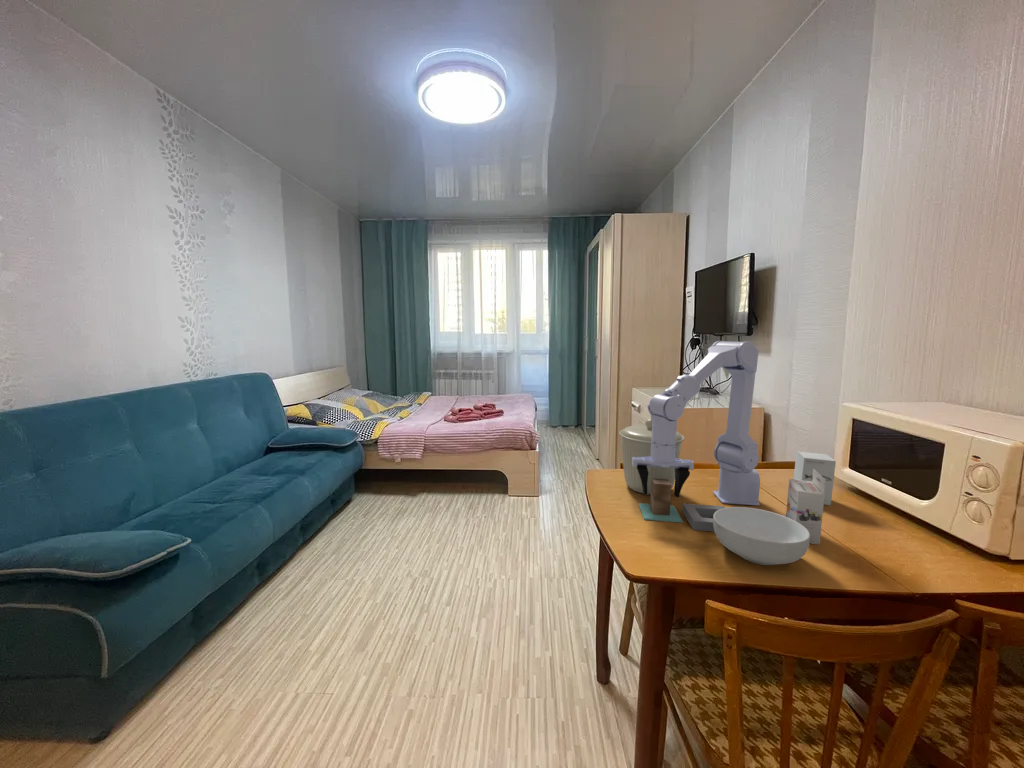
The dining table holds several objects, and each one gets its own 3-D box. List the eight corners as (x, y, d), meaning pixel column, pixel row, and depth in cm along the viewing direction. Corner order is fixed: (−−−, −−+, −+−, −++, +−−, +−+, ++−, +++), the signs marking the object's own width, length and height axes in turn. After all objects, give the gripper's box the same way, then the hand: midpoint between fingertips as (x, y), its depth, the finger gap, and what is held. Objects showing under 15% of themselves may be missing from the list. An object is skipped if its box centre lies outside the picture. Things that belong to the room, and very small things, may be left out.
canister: (672, 479, 127) (676, 414, 124) (689, 502, 109) (693, 427, 107) (614, 476, 129) (616, 412, 127) (620, 498, 112) (623, 424, 109)
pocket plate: (723, 514, 102) (724, 506, 102) (739, 533, 92) (740, 524, 92) (682, 511, 104) (682, 503, 103) (693, 529, 94) (693, 520, 94)
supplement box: (798, 501, 110) (803, 457, 109) (791, 492, 117) (795, 450, 116) (831, 506, 108) (836, 460, 106) (822, 496, 114) (826, 453, 113)
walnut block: (666, 508, 104) (667, 479, 103) (669, 515, 100) (671, 484, 99) (650, 507, 105) (651, 478, 104) (653, 514, 101) (654, 483, 100)
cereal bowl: (788, 541, 89) (791, 511, 88) (822, 585, 73) (826, 549, 72) (705, 530, 94) (707, 501, 93) (719, 569, 78) (722, 535, 77)
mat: (673, 507, 106) (673, 505, 106) (682, 522, 97) (682, 521, 97) (638, 504, 108) (638, 503, 108) (644, 519, 99) (644, 518, 99)
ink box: (783, 524, 97) (789, 465, 95) (808, 528, 95) (814, 468, 93) (793, 541, 89) (799, 477, 87) (820, 545, 87) (827, 480, 85)
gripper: (635, 445, 98) (633, 498, 99) (698, 448, 95) (695, 503, 97) (631, 438, 104) (629, 488, 106) (690, 440, 102) (687, 492, 104)
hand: (660, 494), depth 102 cm, fingers open, 7 cm apart
